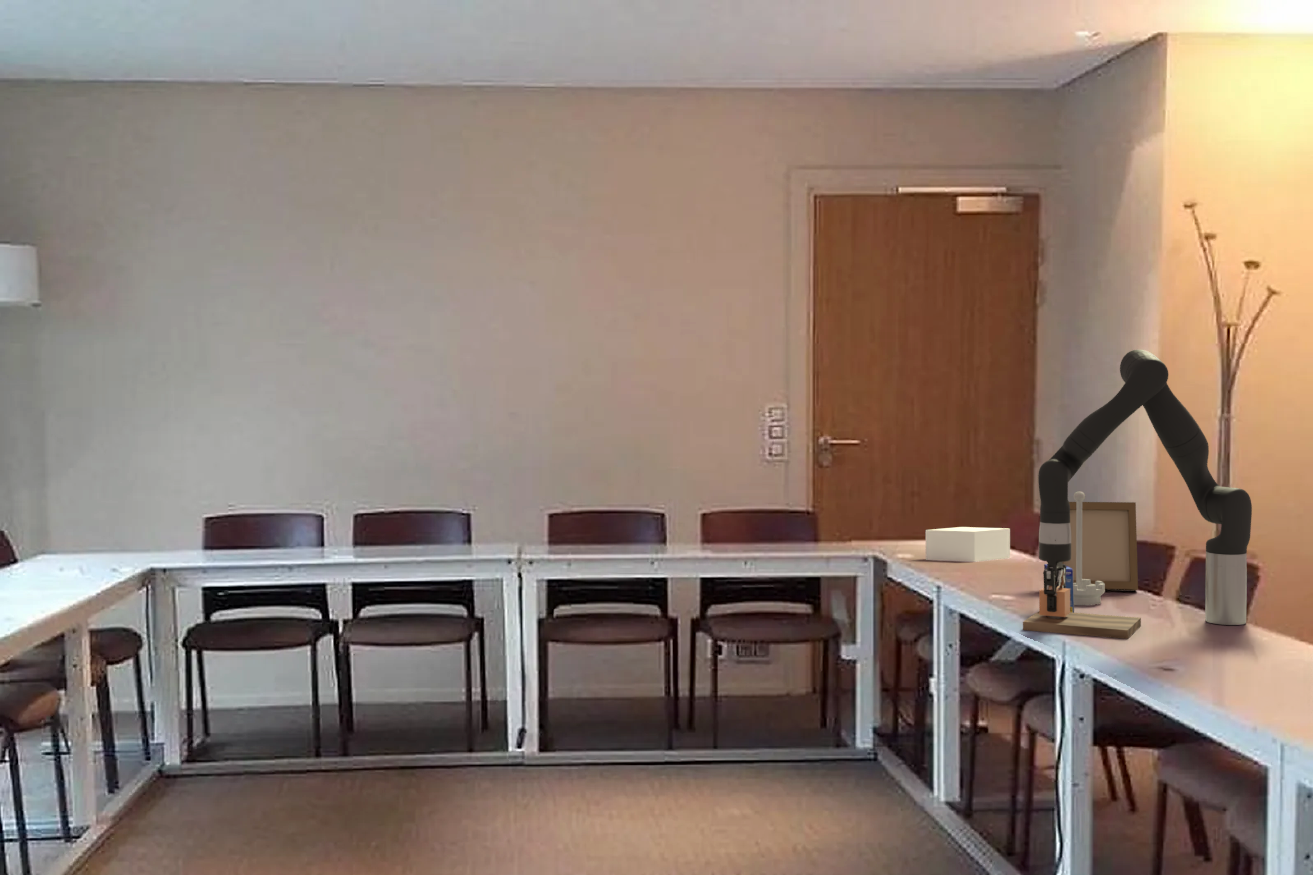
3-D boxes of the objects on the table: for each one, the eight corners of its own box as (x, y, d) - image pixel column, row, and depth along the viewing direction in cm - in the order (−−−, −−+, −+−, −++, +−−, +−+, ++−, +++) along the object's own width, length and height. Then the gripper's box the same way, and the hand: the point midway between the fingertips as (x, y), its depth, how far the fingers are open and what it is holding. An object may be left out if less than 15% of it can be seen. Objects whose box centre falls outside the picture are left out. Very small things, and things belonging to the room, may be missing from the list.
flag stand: (1107, 606, 343) (1108, 493, 342) (1056, 605, 345) (1056, 493, 344) (1101, 598, 356) (1101, 489, 354) (1051, 597, 358) (1051, 489, 357)
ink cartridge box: (1043, 609, 339) (1043, 554, 338) (1064, 610, 338) (1064, 554, 338) (1052, 616, 329) (1052, 559, 328) (1074, 616, 328) (1074, 559, 328)
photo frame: (1137, 592, 364) (1138, 503, 363) (1056, 590, 369) (1056, 503, 368) (1131, 585, 378) (1131, 499, 377) (1053, 583, 383) (1053, 499, 383)
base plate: (1040, 617, 327) (1040, 592, 327) (1140, 625, 315) (1141, 599, 315) (1022, 630, 311) (1022, 603, 311) (1127, 638, 299) (1127, 610, 299)
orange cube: (1045, 611, 320) (1045, 586, 320) (1070, 613, 317) (1070, 588, 317) (1039, 614, 315) (1039, 590, 315) (1064, 616, 312) (1064, 592, 312)
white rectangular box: (919, 557, 444) (919, 527, 443) (1002, 555, 446) (1002, 526, 445) (931, 563, 429) (931, 532, 429) (1017, 561, 431) (1017, 530, 431)
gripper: (1064, 545, 307) (1064, 615, 308) (1077, 538, 320) (1077, 606, 321) (1032, 543, 311) (1032, 613, 312) (1046, 537, 324) (1046, 604, 324)
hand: (1054, 609), depth 316 cm, fingers closed on orange cube, 5 cm apart
